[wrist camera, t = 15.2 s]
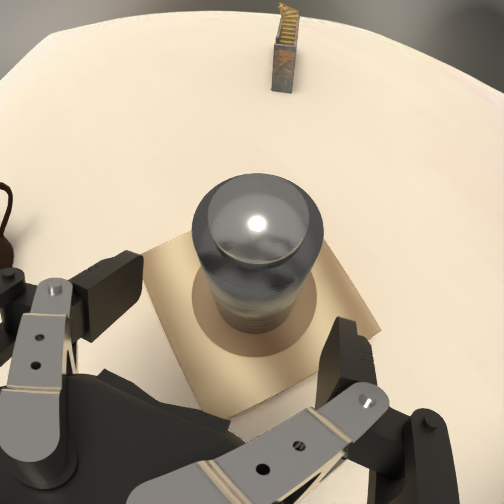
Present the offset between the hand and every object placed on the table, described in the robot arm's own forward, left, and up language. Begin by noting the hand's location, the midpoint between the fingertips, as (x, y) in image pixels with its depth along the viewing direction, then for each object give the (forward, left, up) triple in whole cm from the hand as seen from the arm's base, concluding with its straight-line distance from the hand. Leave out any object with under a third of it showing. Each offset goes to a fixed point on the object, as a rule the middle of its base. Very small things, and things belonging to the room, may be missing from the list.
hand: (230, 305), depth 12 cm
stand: (-3, -3, -13) cm, 14 cm away
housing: (-3, -2, -10) cm, 10 cm away
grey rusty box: (-22, -30, -14) cm, 39 cm away
